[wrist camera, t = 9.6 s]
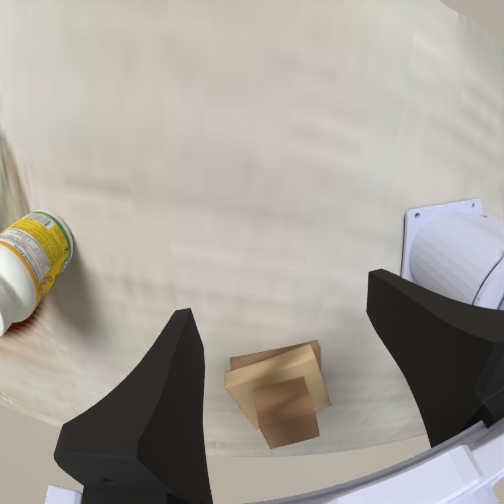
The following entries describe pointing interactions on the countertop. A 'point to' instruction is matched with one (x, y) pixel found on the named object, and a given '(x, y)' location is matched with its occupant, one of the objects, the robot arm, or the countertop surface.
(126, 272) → the countertop surface
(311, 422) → the block
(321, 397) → the tile top
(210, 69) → the countertop surface
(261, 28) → the countertop surface
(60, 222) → the supplement bottle
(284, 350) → the tile bottom
